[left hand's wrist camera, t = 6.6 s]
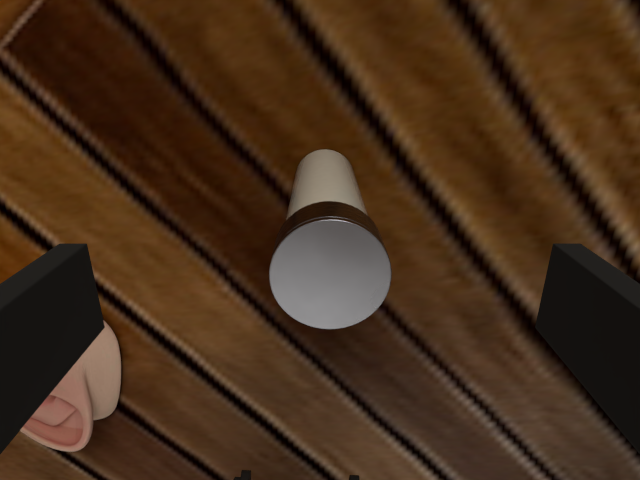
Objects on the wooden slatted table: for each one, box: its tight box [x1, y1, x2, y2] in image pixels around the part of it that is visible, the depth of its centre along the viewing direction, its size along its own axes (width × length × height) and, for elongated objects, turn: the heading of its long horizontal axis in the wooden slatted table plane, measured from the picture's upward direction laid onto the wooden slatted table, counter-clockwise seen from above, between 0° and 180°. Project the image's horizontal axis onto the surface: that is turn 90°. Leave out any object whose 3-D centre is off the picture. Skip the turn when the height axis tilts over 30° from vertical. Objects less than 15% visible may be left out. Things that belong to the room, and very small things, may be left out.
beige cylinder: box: [286, 149, 368, 220], centre depth 24 cm, size 4×4×16 cm
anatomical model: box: [20, 320, 121, 452], centre depth 35 cm, size 13×4×12 cm
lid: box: [269, 201, 391, 329], centre depth 18 cm, size 5×5×2 cm
